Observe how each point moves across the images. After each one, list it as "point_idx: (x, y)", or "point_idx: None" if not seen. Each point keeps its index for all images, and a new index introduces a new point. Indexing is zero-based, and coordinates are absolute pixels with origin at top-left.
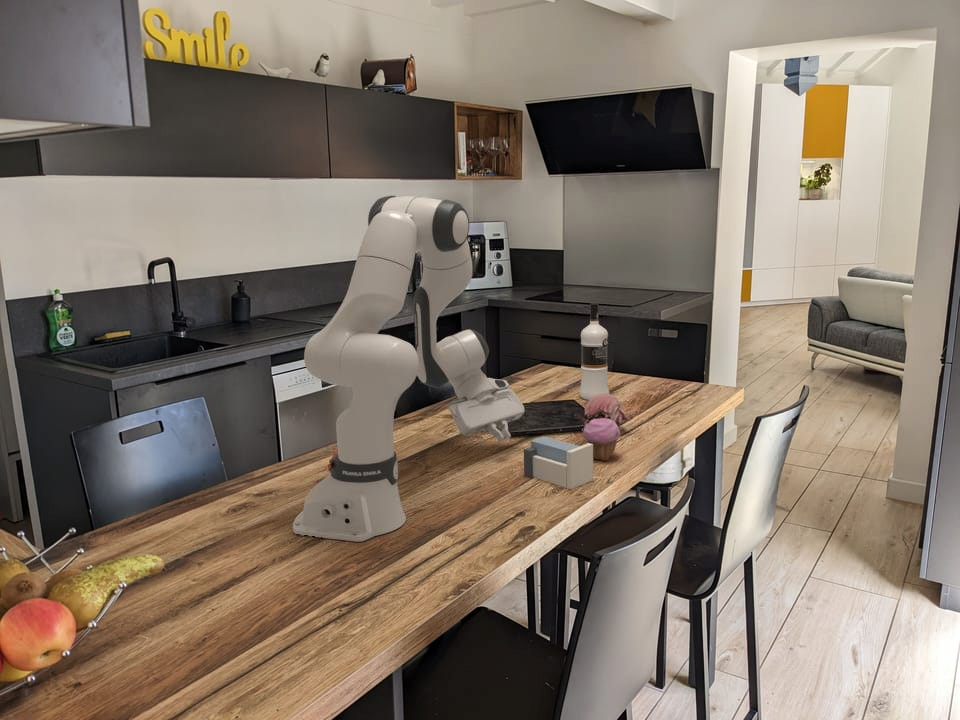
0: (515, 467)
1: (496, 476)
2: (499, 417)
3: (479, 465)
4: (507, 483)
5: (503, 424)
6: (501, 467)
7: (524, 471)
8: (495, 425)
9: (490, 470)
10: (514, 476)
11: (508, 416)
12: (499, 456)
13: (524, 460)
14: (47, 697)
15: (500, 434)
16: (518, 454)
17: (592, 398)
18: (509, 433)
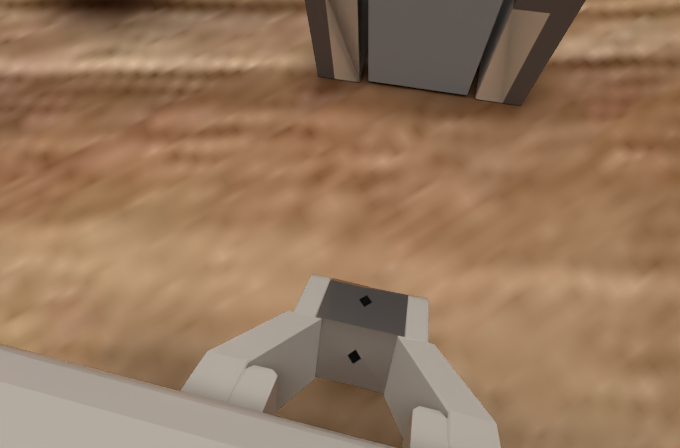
0: (437, 209)
1: (624, 222)
2: (285, 443)
3: (543, 433)
4: (662, 120)
5: (272, 375)
6: (485, 279)
7: (530, 87)
8: (422, 425)
9: (570, 309)
10: (556, 142)
11: (99, 370)
12: (318, 408)
13: (559, 38)
14: None
15: (428, 324)
16: (230, 314)
17: None
18: (309, 285)
